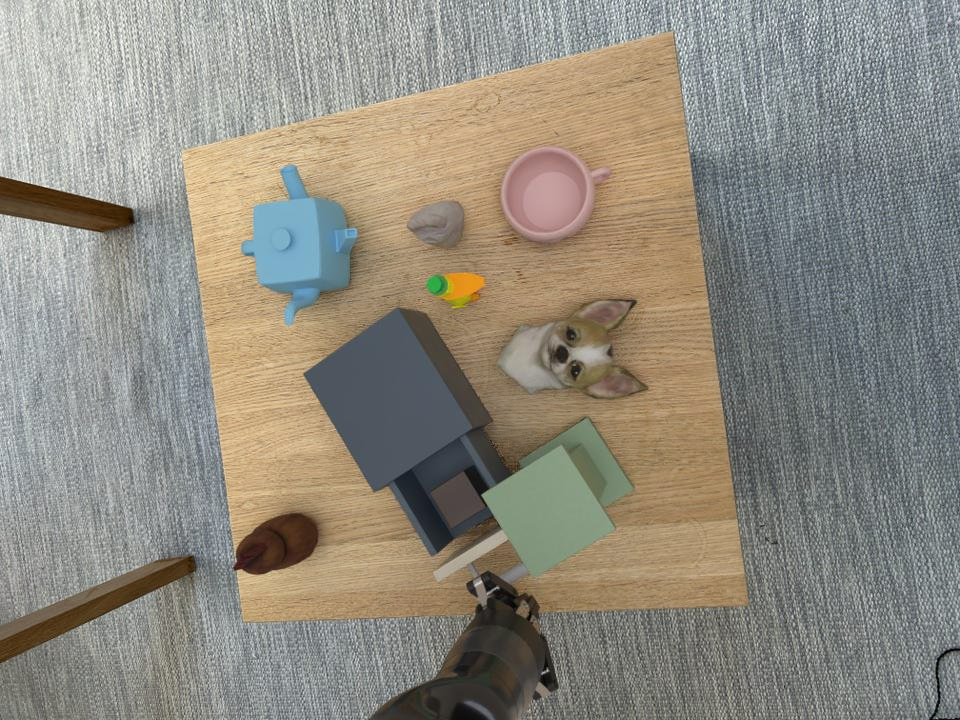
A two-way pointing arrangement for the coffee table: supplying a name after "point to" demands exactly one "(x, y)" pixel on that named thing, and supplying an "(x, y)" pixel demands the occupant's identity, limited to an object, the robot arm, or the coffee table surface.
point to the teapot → (300, 245)
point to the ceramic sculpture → (572, 353)
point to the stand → (559, 498)
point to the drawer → (429, 518)
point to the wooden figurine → (277, 544)
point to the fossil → (439, 223)
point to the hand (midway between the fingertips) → (528, 605)
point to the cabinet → (396, 395)
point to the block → (460, 496)
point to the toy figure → (456, 288)
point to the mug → (549, 193)
